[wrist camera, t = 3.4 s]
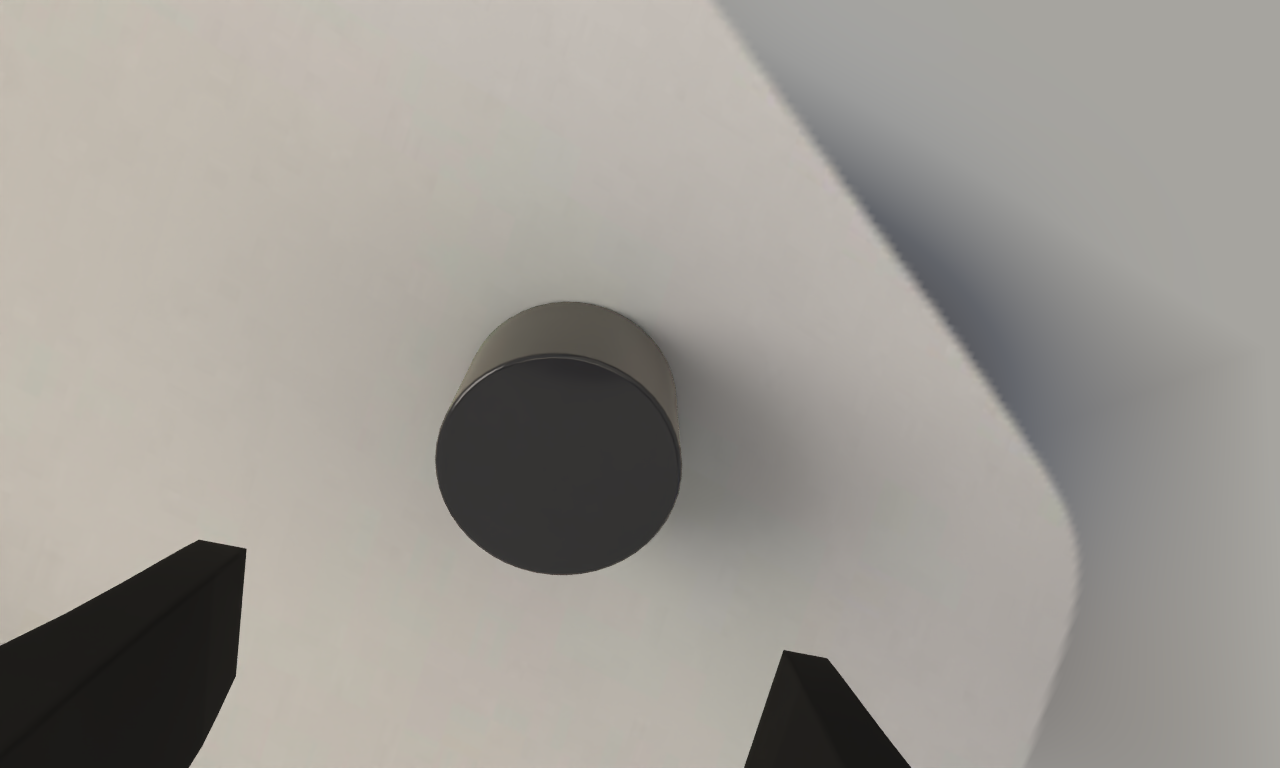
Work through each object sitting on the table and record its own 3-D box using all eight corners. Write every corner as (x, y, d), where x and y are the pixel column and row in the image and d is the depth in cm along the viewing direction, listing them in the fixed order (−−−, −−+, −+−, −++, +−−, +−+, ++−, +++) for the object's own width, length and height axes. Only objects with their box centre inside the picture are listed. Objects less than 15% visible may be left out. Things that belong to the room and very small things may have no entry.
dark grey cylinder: (699, 326, 19) (708, 384, 16) (650, 513, 21) (651, 597, 18) (484, 279, 19) (454, 329, 16) (450, 473, 20) (417, 551, 18)
